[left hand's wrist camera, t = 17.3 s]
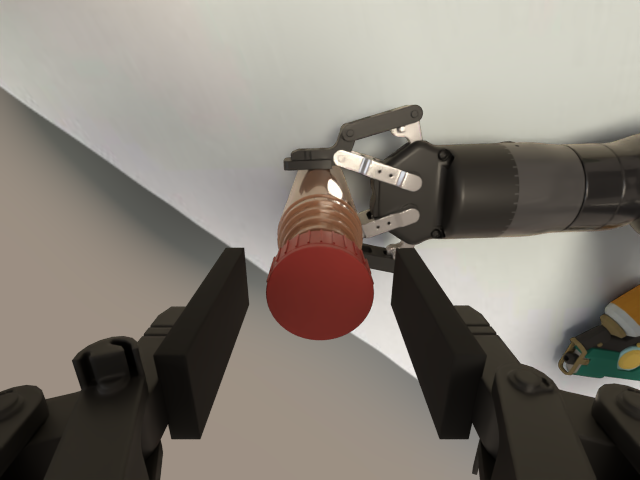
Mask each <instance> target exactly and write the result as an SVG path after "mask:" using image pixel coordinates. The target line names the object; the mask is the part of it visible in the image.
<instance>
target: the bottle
mask: <svg viewBox="0 0 640 480" xmlns="http://www.w3.org/2000/svg"><path fill="white" fill-rule="evenodd" d="M320 229H322V231H329V232H332V231H334V233H337V234H340V235H342V236H343V235H345V237H346V238H348V239H349V240H350V241H352V242H353V241H354V242H355V245H356V246H357V247H358V248H359V249H360V250H361V249H362V243H363V237H362V234H363V232H362V225H361V222H360V219H359V216H358V213H357V210H356V208H355V205H354V202H353V199H352V196H351V194H350V191H349V188H348V185H347V182H346V180H345V177H344V174H343V171H342V169H341V167H340V166H332V169H316V170H298V172H297V175H296V178H295V180H294V183H293V186H292V189H291V191H290V194H289V197H288V200H287V203H286V205H285V208H284V211H283V214H282V216H281V219H280V222H279V226H278V238H277V241H278V248H280V247H281V248H282V247H283V246H284V245H285V244H286V243H287V240H289V241H290V240H291V239H292V238H294V237H296V236H297V234H299V235H300V234H303V233H306V232H308V231H309V230H310V232H311V231H320Z"/></svg>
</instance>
